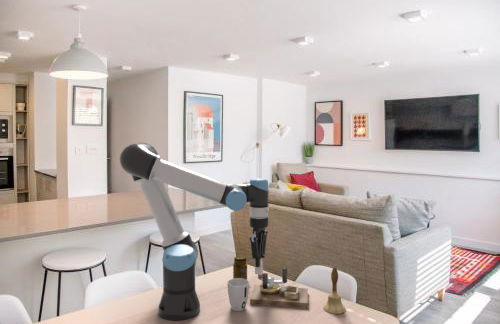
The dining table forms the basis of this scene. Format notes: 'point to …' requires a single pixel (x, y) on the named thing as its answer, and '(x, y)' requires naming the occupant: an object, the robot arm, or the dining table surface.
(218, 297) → the dining table surface
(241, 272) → the condiment
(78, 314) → the dining table surface
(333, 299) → the hand bell
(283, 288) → the ball
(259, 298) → the stand
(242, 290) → the cup
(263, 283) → the capstan
